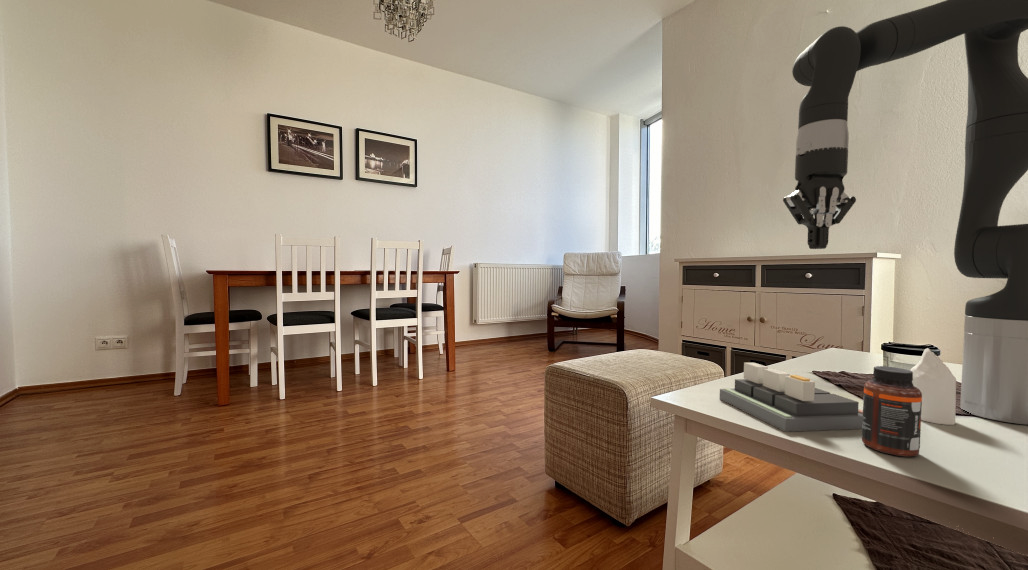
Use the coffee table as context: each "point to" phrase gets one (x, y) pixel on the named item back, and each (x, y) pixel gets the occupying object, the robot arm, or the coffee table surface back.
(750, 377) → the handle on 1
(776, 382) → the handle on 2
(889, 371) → the supplement bottle
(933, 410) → the white pointed block
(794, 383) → the handle
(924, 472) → the coffee table surface
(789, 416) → the panel
